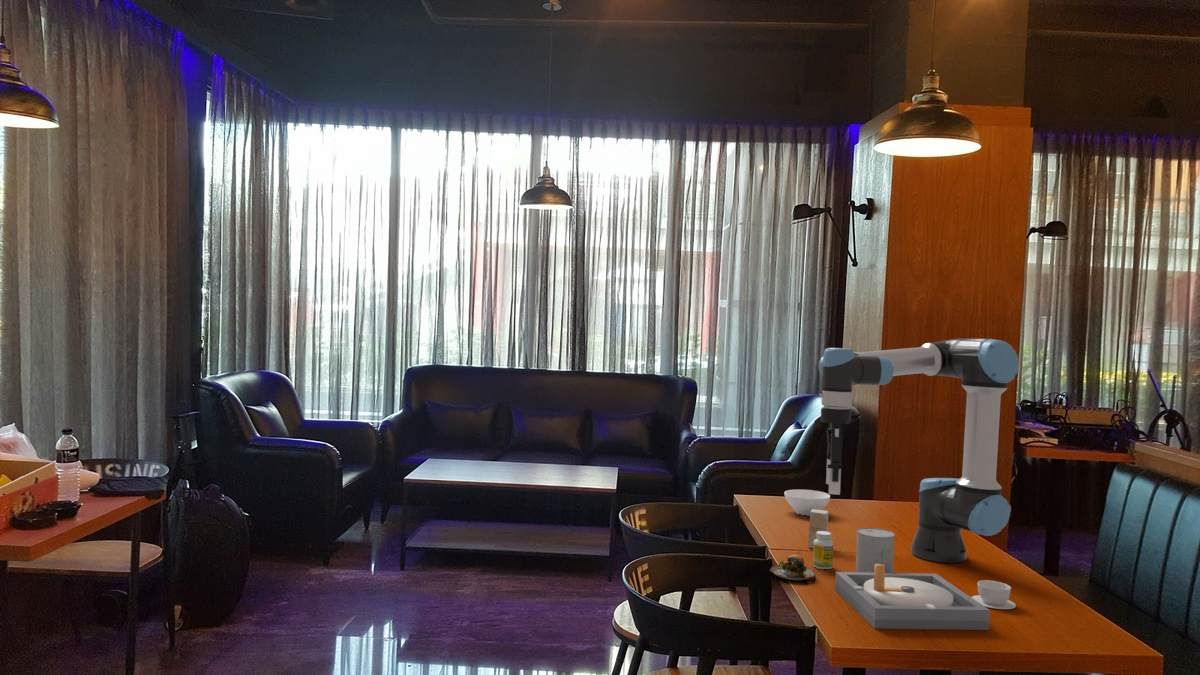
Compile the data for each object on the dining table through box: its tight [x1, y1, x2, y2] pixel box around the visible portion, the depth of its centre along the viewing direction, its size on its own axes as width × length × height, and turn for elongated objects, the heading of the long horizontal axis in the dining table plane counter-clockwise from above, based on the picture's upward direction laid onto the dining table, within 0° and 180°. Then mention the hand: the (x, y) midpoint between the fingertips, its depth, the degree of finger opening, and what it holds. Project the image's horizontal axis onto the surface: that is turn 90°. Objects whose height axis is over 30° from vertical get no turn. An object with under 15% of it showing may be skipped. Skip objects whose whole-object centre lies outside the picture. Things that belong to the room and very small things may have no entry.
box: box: [807, 509, 829, 549], centre depth 243 cm, size 5×4×11 cm
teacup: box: [970, 579, 1017, 610], centre depth 198 cm, size 10×10×5 cm
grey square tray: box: [834, 571, 991, 631], centre depth 192 cm, size 26×26×5 cm
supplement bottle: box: [812, 531, 834, 570], centre depth 223 cm, size 5×5×10 cm
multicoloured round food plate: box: [769, 548, 817, 584], centre depth 214 cm, size 12×12×8 cm
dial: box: [864, 564, 953, 606], centre depth 192 cm, size 20×20×8 cm
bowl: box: [783, 488, 831, 517], centre depth 288 cm, size 16×16×7 cm
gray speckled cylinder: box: [855, 527, 895, 573], centre depth 215 cm, size 10×10×12 cm
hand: (832, 489), depth 208 cm, fingers open, 13 cm apart
